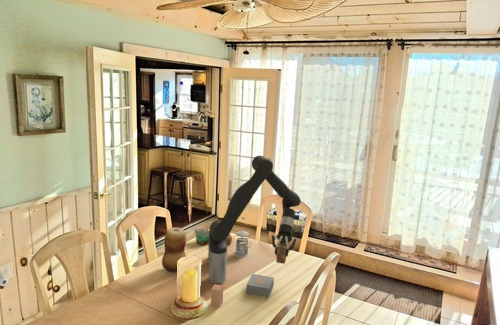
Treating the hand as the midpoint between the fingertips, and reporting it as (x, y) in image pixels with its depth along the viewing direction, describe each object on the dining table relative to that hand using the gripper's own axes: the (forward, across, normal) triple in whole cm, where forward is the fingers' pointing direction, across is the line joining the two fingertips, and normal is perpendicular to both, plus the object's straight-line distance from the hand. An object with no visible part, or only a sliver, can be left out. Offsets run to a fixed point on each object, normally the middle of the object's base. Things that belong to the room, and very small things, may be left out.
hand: (281, 255), depth 188 cm
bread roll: (-19, -47, +46) cm, 68 cm away
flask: (+2, -42, +25) cm, 49 cm away
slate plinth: (+17, -9, +9) cm, 21 cm away
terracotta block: (+32, -26, -5) cm, 41 cm away
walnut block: (+2, 0, +4) cm, 5 cm away
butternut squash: (+15, -60, +12) cm, 63 cm away
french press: (-9, -29, +35) cm, 47 cm away
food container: (-12, -60, +39) cm, 72 cm away
